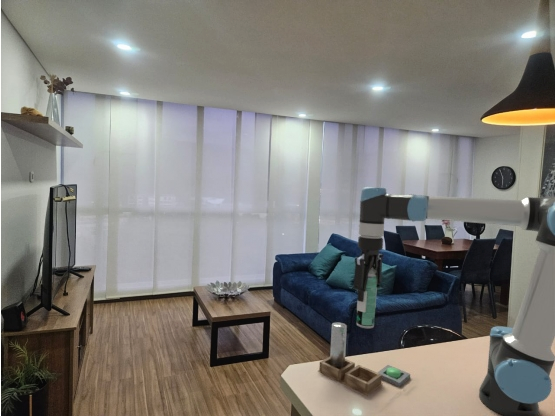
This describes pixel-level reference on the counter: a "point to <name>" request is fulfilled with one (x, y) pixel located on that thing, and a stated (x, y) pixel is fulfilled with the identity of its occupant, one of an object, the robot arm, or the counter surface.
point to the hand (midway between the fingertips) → (366, 308)
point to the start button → (393, 372)
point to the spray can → (369, 302)
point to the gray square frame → (397, 382)
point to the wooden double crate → (352, 376)
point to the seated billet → (338, 345)
